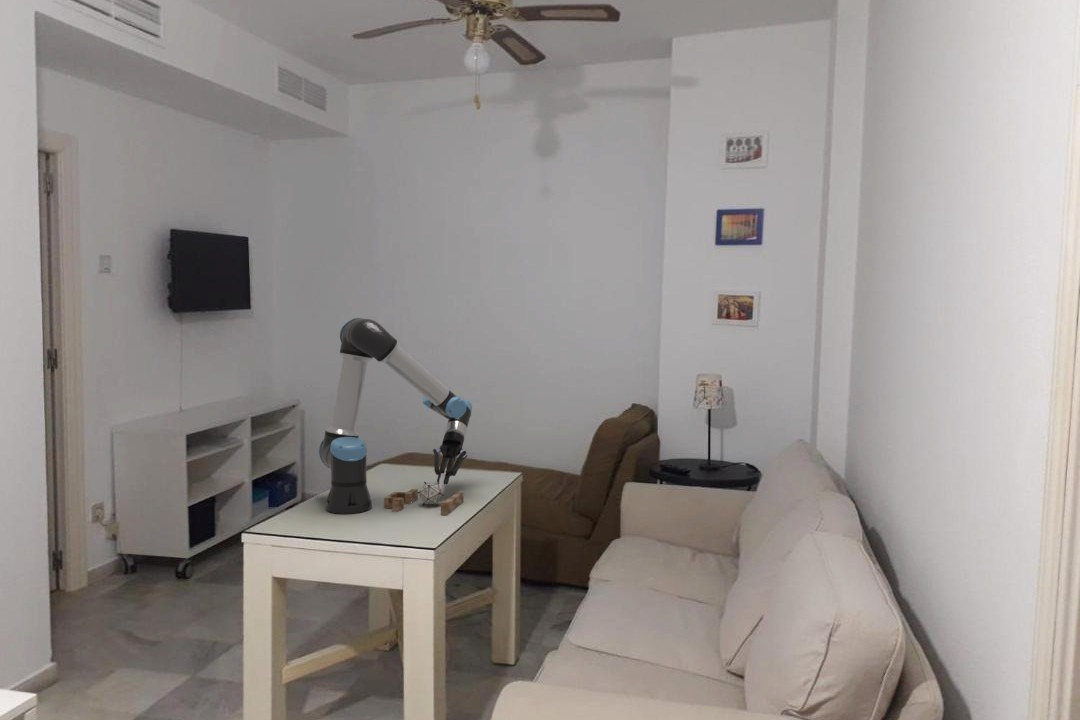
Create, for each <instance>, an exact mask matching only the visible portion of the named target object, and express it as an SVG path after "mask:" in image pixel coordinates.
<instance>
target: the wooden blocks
mask: <svg viewBox="0 0 1080 720" xmlns="http://www.w3.org/2000/svg"><path fill="white" fill-rule="evenodd" d="M417 492H419V489H418V488H411V489H410V490H408V491H406V492H405V491H394V492H392V493H390V494H389V495H386V496H384V498H383V499H384V500H383V503H384V504H383V508H384V509H391V508H392V512H393V511H396V512H395V513H399V512H401V511H402V510H404V508H405V506H404V505H405V504H408V503H411V502H412V503H414V502H415V501H417V500H418V498H419V497H418V496H419V493H417ZM416 499H417V500H416ZM413 501H414V502H413ZM462 502H463V503H464V491H457V492H455V493H454V494H453V495H452V496H450V497H449V498H448V499H446V500H444V501H441V502H440V515H441V516H448V515H449V514H450V513H451V512H453V511H454V510H455V509H456V508H457V506H458V505H459V506H460V505H462V504H463V503H462ZM404 503H405V504H404ZM412 503H411V504H412ZM459 506H458V507H459ZM401 509H402V510H401ZM452 510H453V511H452ZM398 511H399V512H398ZM448 513H449V514H448ZM447 514H448V515H447Z"/></svg>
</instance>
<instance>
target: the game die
mask: <svg viewBox="0 0 1080 720" xmlns="http://www.w3.org/2000/svg"><path fill="white" fill-rule="evenodd" d="M423 483H424V484H423V487H422V488H421V489H420V491H418V492H417V493H418V494H419V496H420V498H421V501H422V502H423V503H422V505H424V506H425V505H435V506H436V507H438V503H439V501H440V500H441V497H443V496H445V494H444V493H441V490H440V488H439V485H438V484H439V482H437V483H428V482H426V481H424V482H423Z"/></svg>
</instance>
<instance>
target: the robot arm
mask: <svg viewBox="0 0 1080 720" xmlns="http://www.w3.org/2000/svg"><path fill="white" fill-rule="evenodd" d="M339 340H340V343H341V344H340V350H339V356H341V358H342V363H341V368H340V374H339V379H338V384H337V390H336V396H335V400H334V401H335V402H334V407H333V413H332V416H331V417H332V418H331V422H330V423H331V424H330V426H329V427H327V428H325V431H324V437H323V439H322V440H321V442H320V443H319V446H318V456H319V458H320V461H321V462H322V463H323V464H324V466H325V467H326V468H328V469H330V473H331V474H330V479H331V481H330V490H329V493H328V496H327V500H326V503H325V510H326V511H327V512H329V513H332V514H341V515H349V514H350V515H351V514H357V513H363V512H368V511H370V510H371V509H372V508H373V501H372V500H373V499H372V498H371V494H370V491H369V489H368V485H367V483H368V482H367V479H368V478H367V453H368V449H367V444H366V442H365V441H364V440H363V439H362V438H359V435H360V434H359V432H358V431H357V429H356V428H357V423H358V419H359V412H360V407H361V401H362V395H363V389H364V385H365V384H364V383H365V379H366V373H367V369H368V368H367V367H368V364H369V362H371V361H372V360H373V359H375V360H376V361H377V362H378V363H384V364H385V365H386V366H388V367H389V368H390V369H391V370H393V371H394V373H396V374H397V375H399V376H400V378H402V379H403V380H404V381H406V382H407V383H408V384H409V385H410V386H412V387H413V388H414V389H415V390H416V391H417V392H418V393H420V394H421V395H422V396H423V398H422V403H423V405H425V406H426V407H427V408H428V409H431V410H432V411H434V412H436V413H437V414H439V415H440V416H442V417H444V418H445V419H447V420H448V421H447V424H446V427H445V428H446V429H445V431H444V432H445V434H444V435H443V439H442V444H441V445H440V446H439V448H438V449H436V448H433V449H432V452H433V455H434V456H433V457H434V466H433V467H434V472H435V475H436V476H437V479H436V482H437V484H438V482H439V484H438V485H439V488H440V490H441V493H442V494H444V490H445V487H446V485H448V484H449V481H450V477H455V476H456V475H457V473H458V471H459V469H460V467H461V465H462V463H464V460H465V459H466V458H467V457H468V454H467V451H466V450H463V449H464V448H463V445H464V443H465V437H466V434H467V430H468V425H469V422H470V418H471V417H472V410H473V404H472V402H470V400H468V399H465V398H462V397H459V396H457V395H456V394H455V393H453V392H452V391H451V390H450V389H449V388H448V387H447V386H446V385H444V384H443V383H442V382H441V381H440V380H438V379H437V378H436V377H435V376H434V375H433V374H432V373H431V372H429V371H428V370H427V368H425V367H424V366H422V364H420V363H419V362H418V361H417V360H416V359H414V357H412V356H411V354H409V353H407V352H406V351H405V350H404V349H403V348H402V347H401V346H400V345H399V341H398V340H397V339H396V338H395V337H394V336H392V334H391V333H389V331H387V330H386V328H385V327H384V326H382V325H381V324H380V323H378V321H375V320H373V319H370V318H363V317H356V318H351V319H349V320H347V321H346V322H345V323H344V324H343V325H342V326H341V328H340V332H339ZM440 454H441V455H442V459H441V463H440ZM456 458H457V459H456Z"/></svg>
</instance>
